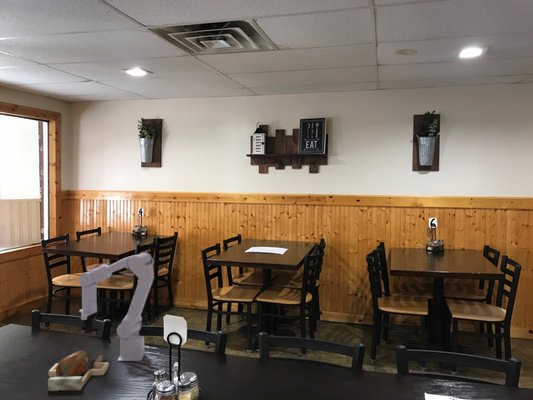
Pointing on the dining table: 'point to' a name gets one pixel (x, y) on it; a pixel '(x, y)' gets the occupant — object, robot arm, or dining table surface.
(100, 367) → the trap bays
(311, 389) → the dining table surface
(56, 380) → the lane
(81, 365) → the tin
